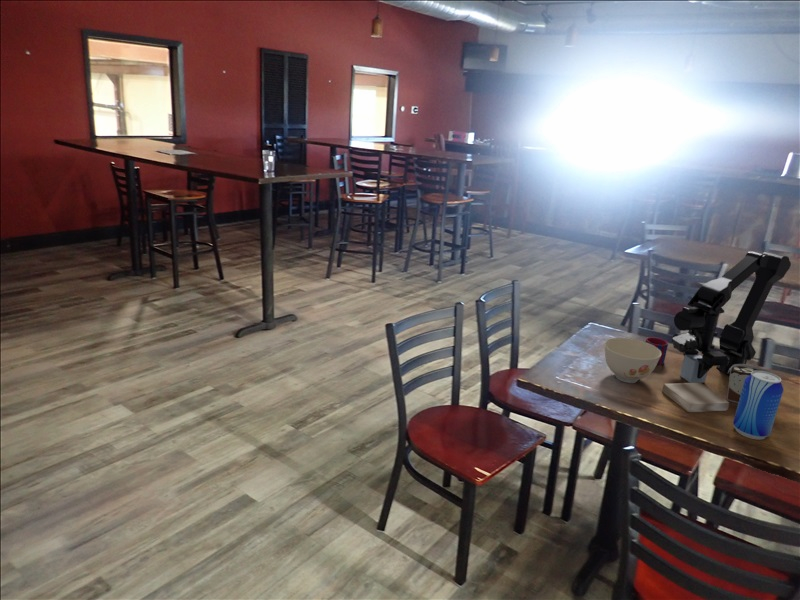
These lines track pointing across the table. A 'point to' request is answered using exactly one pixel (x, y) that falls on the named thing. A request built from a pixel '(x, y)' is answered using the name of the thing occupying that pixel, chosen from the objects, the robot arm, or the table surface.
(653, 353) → the bowl
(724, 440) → the table surface
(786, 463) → the table surface
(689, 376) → the slate block
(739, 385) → the food container
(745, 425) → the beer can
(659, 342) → the mug
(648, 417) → the table surface
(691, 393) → the birch base
